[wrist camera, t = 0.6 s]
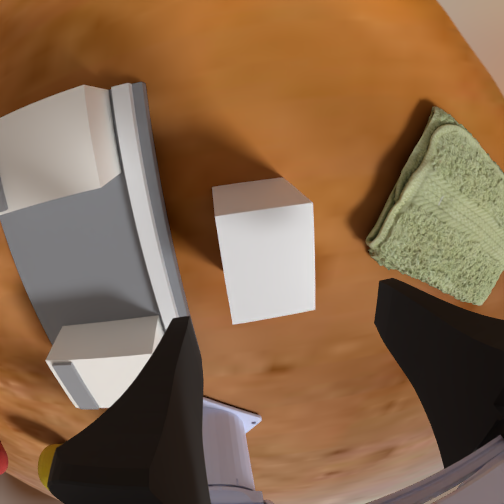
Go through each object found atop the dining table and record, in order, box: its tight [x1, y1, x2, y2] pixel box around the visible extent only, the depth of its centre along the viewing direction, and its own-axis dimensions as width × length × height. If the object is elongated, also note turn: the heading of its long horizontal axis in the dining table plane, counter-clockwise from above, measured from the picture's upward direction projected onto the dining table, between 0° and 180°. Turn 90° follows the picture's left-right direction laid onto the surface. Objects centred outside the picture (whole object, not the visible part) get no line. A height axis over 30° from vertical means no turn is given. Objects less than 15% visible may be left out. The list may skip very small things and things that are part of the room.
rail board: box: [0, 82, 200, 409], centre depth 17 cm, size 20×12×6 cm, turn 6°
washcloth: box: [366, 107, 504, 306], centre depth 22 cm, size 13×18×3 cm
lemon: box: [38, 443, 63, 491], centre depth 25 cm, size 6×6×8 cm
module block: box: [212, 177, 315, 324], centre depth 18 cm, size 6×4×6 cm
